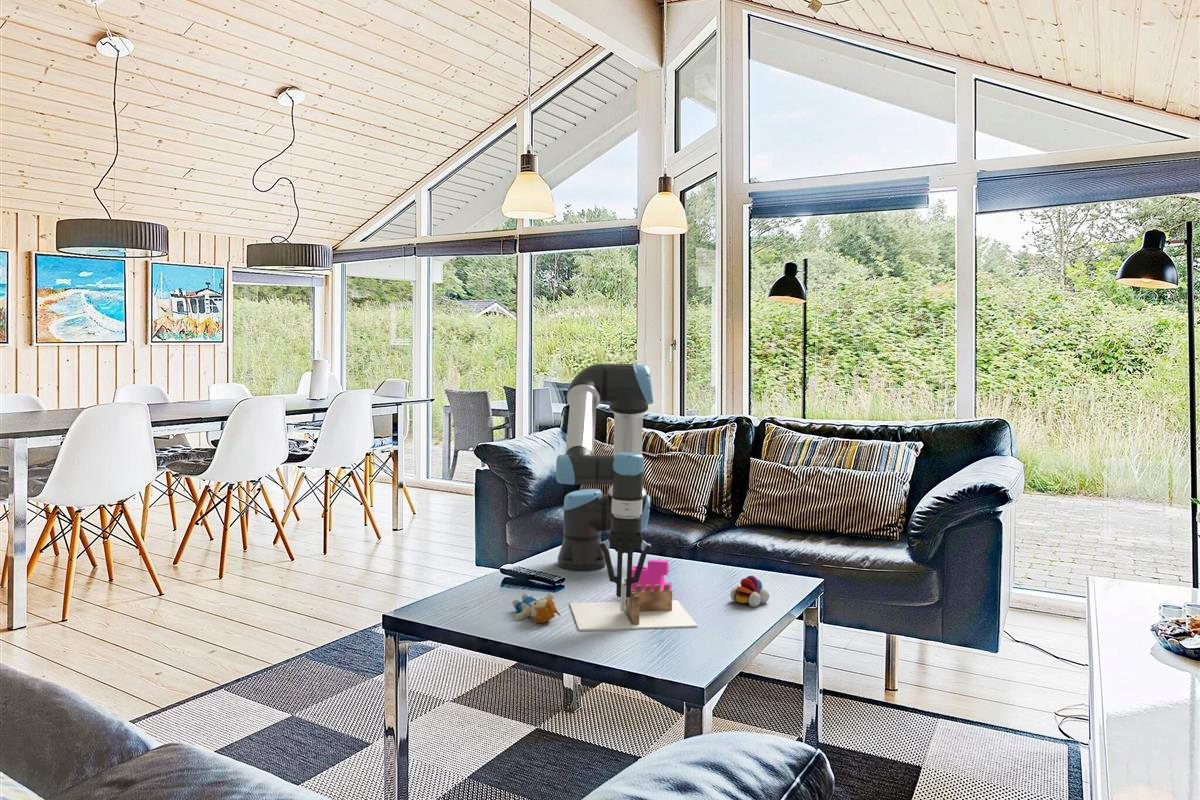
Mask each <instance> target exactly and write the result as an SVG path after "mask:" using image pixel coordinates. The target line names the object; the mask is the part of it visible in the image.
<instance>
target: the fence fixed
mask: <svg viewBox="0 0 1200 800" xmlns="http://www.w3.org/2000/svg"><path fill="white" fill-rule="evenodd" d="M635 592H636V593H637V595H638V596H639V604H640V610H639V611H658V610H672V600H673V590H672V589H671V590H669V584H664V590H660V585H659V584H655V590H652V591H651V585H650V584H648V585H645V591H642V586H641V585H636V591H635Z"/></svg>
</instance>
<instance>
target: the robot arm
mask: <svg viewBox="0 0 1200 800" xmlns="http://www.w3.org/2000/svg"><path fill="white" fill-rule="evenodd" d="M650 370H651V369H650V368H649V366H648V365H646V364H638V363H637V364H635V363H595V364H592V365H589V366H587V367H586V368H584V369H582V370H580V372H578V373H577V374H576V375H575V377H573V379H572V381H571V382H570V384H569V386H568V389H567V392H566V393H567V394H566V402H567V404H568V405H569V410H568V421H567V430H566V432H567V433H566V435H567V436H566V444H565V454H564V453H563V454H559V455H557V458H556V462H555V479H556V481H557V483H558V484H564V485H571V486H574V485H578V486H579V485H581V486H582V485H593V486H594V485H596V486H597V485H600V486H610V487H609V488H608V491H607V494H606V493H605V494H603V493H602V490H601V489H600V488H586V489H579V490H574V491H570V492H569V493H567V494H566V495H565V496H564V500H563V508H562V510H563V537H562V539H563V541H562V543H561V546H560V549H559V552H558V556H557V567H560V568H562V569H565V570H570V571H594V570H599V569H602V568H604V567H606V569H607V570H606V571H607V574H608V578H609V582H613V583H615V584H616V591H615V593H616V594H615V596H616V597H617V598H620V602H621V606H620V611H625V606H626V597H630V596H631V585H632V584H633V583H637V582H638V581H639V578H640V574H641V571H642V568H643V566H644V564H645V561H646V557H647V555H648V554H649V552H650V551H651V550H652V544H651V543H647V541H645V540H644V537H643V535H642V533H643V532H645V531H646V529H647V526H648V522H649V518H650V512H651V511H650V508H651V496H650V495H648V494H647V491H646V488H644V474H645V473H644V472H645V463H644V460H645V459H644V455H643V432H644V431H643V429H644V428H643V427H644V426H643V425H644V424H643V421H644V414H645V413H646V412H648V411H649V406H650V405H652V404H653V403H654V397H653V396H654V395H653V388H652V378H651V371H650ZM600 404H609V406H608V409H609V411H610V412H611V413H612V414H613V417H614V418H613V455H599V454H597V455H595V439H596V438H595V437H596V419H597V418H596V416H597V408H598V407H599V405H600ZM602 533H609V534H608V538H607V539H606V540H604V541H601V536H602V535H601V534H602ZM610 544H611V545H610ZM610 546H612V548H613V549H614V550H615V552H617V556H616V557H617V559H616V563H617V564H616V575H615V572H614V568H613V563H612V557H611V554H610V553H611V552H610V550H609V549H610V548H611V547H610ZM639 547H640V550H641V552H640V555H639V559H638V563H637V565H636V566H637V568H636V571H635V575H634V577H632V566H633V554H634V553H635V552H636V551H637V549H638V548H639ZM624 554H627V558H626V559H627V564H626V578H625V579H626V582H624V581H623V578H622V577H623V555H624ZM622 581H623V582H622Z"/></svg>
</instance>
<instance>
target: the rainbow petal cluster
mask: <svg viewBox="0 0 1200 800" xmlns="http://www.w3.org/2000/svg"><path fill="white" fill-rule="evenodd" d="M740 580H741V581H740V586H739V585H738V586H736V587H734V588H732V589H731V591H730V594H729V597H730V599H731V601H733V602H734V603H741V604H748V605H749V606H750V607H751V608H755V607H758V606H759V605H760V604H765V603H767V602H768V601H769V599H770V593H769V591H768V590H767V589H765V588H763V582H762V580H760V579H758V578H757V577H756V576H754V575H748V576H747V577H745V578H742V579H740Z"/></svg>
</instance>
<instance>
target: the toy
mask: <svg viewBox="0 0 1200 800" xmlns="http://www.w3.org/2000/svg"><path fill="white" fill-rule="evenodd" d="M553 599H554V594H551V593H549V592H548V594H547V595H546V596H545V597H542V598H539V599H537V598H535V597H533V596H531V595H529V594H528V593H523V594H522V595H521V601H520V600H519V599H516V598H515V599H514V600H513V601H512V606H513V608H514V610H516V612H517V613H515V618H514V621H516V620H519V621H521V620H523V619H525V618H527V617H532V619H533V621H534V623H547V622H549V621H551V620H552V619H554V618H555V617H556V615H558V616H559V617H561V616H562V615H561V613H560V612H559V611H558V609H557V608H556V606H555V601H553ZM555 614H556V615H555Z"/></svg>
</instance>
